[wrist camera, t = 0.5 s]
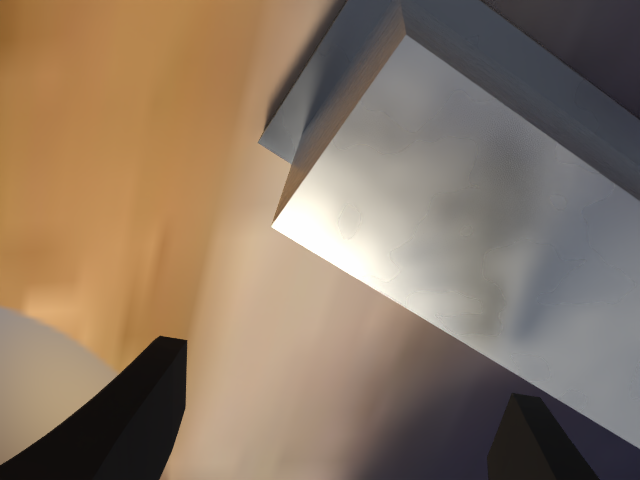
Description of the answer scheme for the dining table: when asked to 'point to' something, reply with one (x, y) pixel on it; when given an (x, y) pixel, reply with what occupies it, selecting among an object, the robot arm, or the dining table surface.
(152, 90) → the dining table surface
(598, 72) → the dining table surface
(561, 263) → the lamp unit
